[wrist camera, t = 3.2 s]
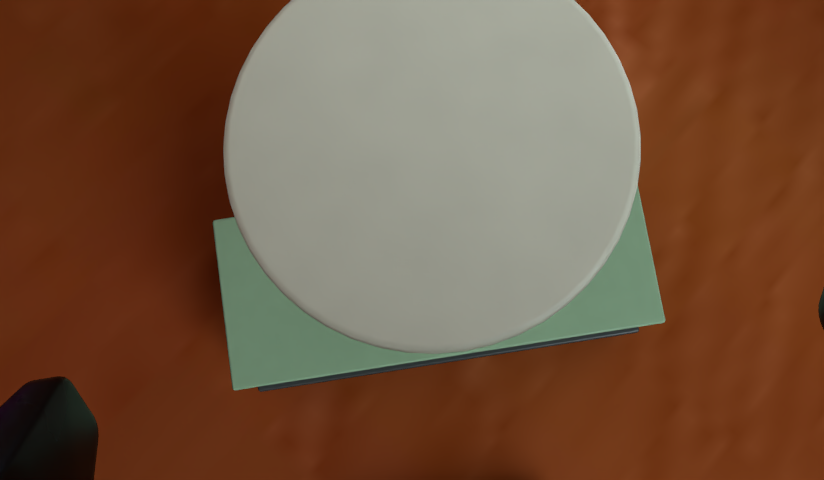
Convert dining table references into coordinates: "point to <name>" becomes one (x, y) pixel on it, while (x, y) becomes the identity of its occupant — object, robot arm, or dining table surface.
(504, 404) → the dining table surface
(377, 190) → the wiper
